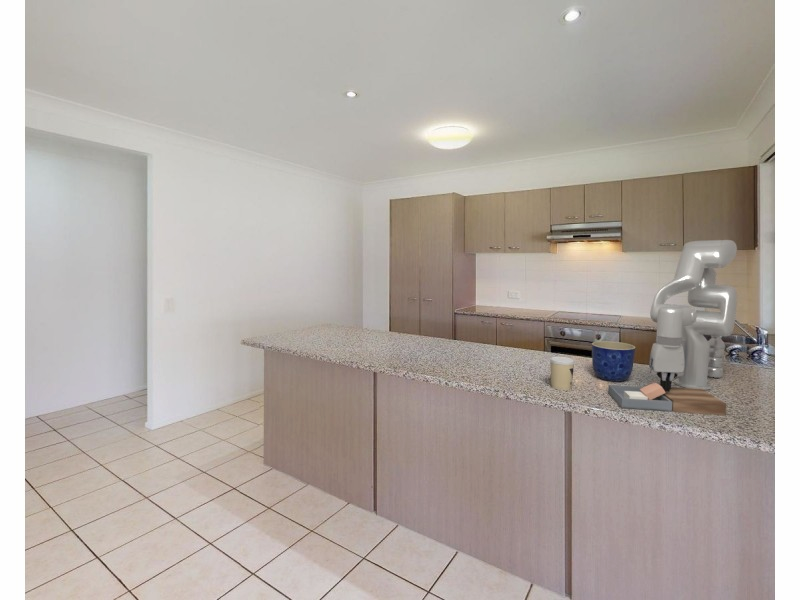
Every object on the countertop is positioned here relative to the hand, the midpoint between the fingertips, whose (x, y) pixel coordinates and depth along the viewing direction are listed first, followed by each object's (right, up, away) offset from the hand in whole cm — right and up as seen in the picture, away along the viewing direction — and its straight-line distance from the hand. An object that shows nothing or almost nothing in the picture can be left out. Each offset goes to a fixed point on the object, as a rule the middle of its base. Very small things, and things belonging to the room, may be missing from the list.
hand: (665, 390), depth 147 cm
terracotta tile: (-3, -2, +1) cm, 4 cm away
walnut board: (+7, -5, -1) cm, 9 cm away
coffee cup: (-30, -3, +20) cm, 36 cm away
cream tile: (-10, -2, +2) cm, 10 cm away
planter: (-3, -2, +31) cm, 31 cm away
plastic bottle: (+43, -2, +33) cm, 54 cm away
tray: (-9, -5, +2) cm, 10 cm away
